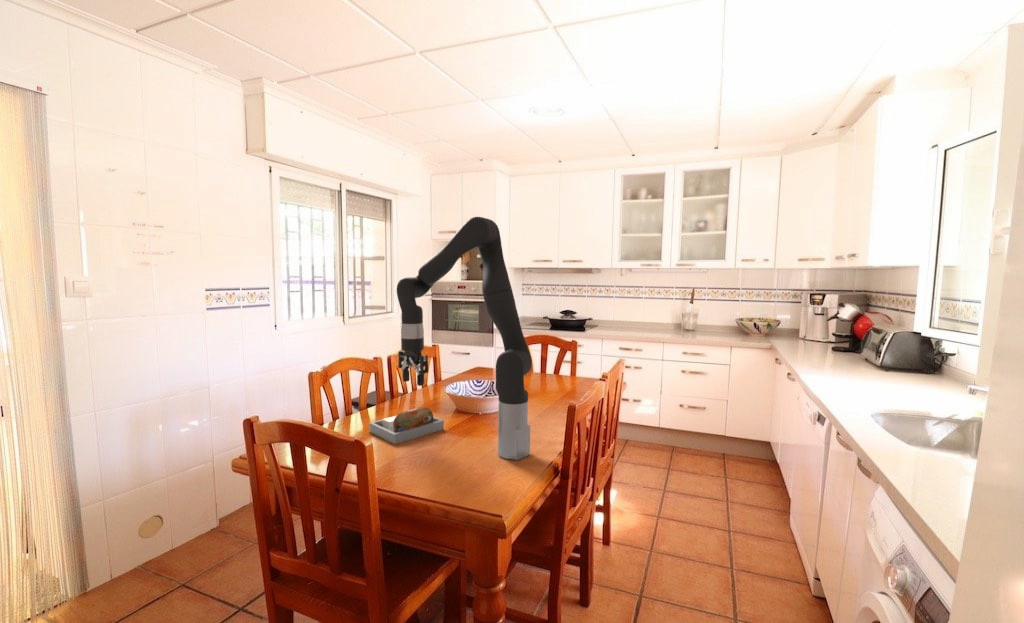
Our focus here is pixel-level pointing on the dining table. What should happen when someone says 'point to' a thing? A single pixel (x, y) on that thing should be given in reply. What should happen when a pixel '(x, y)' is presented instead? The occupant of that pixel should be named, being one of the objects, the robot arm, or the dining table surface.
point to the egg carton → (388, 423)
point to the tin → (412, 419)
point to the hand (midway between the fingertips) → (413, 383)
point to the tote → (407, 434)
